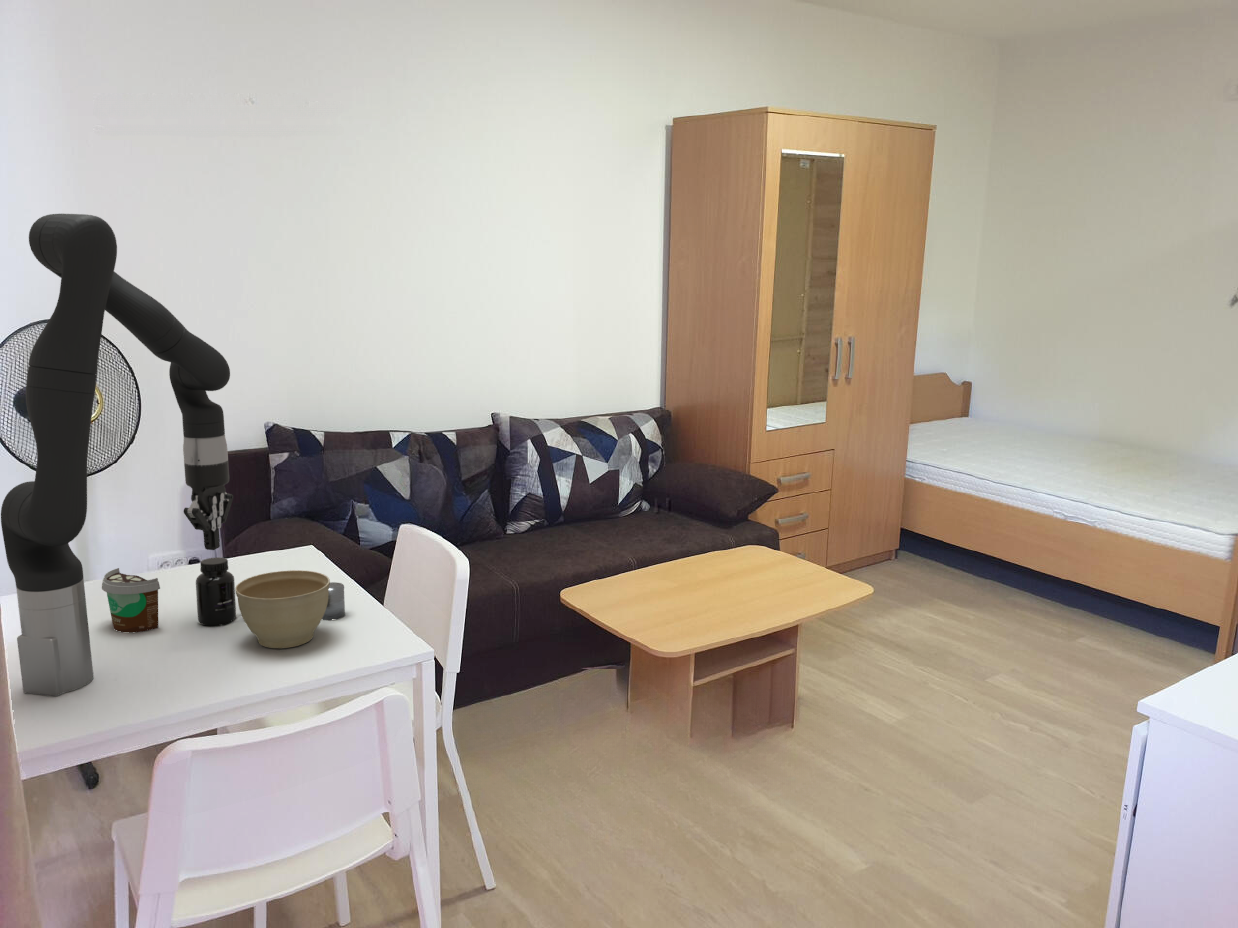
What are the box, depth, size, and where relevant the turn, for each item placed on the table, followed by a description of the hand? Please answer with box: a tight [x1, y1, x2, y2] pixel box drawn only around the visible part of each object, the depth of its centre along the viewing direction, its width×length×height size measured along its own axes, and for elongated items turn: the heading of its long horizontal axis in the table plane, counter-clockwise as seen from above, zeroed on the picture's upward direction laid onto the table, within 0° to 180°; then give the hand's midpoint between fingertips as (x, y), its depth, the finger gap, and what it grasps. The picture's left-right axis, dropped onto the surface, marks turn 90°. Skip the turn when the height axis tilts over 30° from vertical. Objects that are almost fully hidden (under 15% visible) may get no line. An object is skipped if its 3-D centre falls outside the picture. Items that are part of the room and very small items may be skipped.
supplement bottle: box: [195, 557, 237, 627], centre depth 178 cm, size 7×7×12 cm
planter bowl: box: [235, 569, 331, 649], centre depth 170 cm, size 16×16×11 cm
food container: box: [101, 567, 161, 634], centre depth 174 cm, size 12×6×10 cm, turn 62°
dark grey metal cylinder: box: [322, 581, 346, 621], centre depth 183 cm, size 5×5×6 cm
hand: (212, 548), depth 176 cm, fingers closed
